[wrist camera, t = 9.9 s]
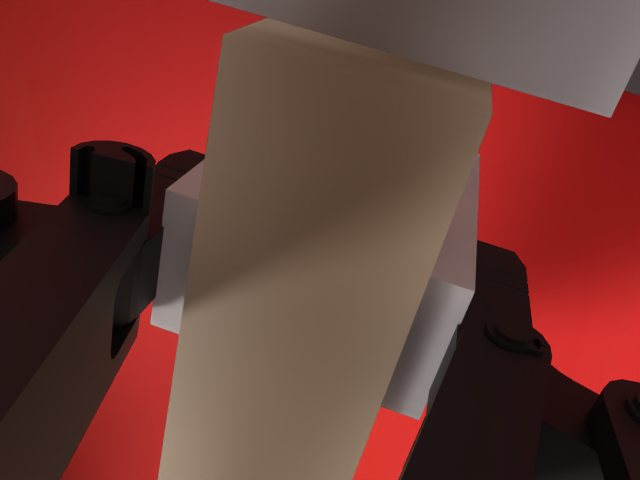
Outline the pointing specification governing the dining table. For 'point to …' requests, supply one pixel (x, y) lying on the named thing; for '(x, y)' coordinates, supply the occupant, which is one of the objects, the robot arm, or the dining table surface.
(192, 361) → the beige tapered bar
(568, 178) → the dining table surface
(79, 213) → the robot arm
